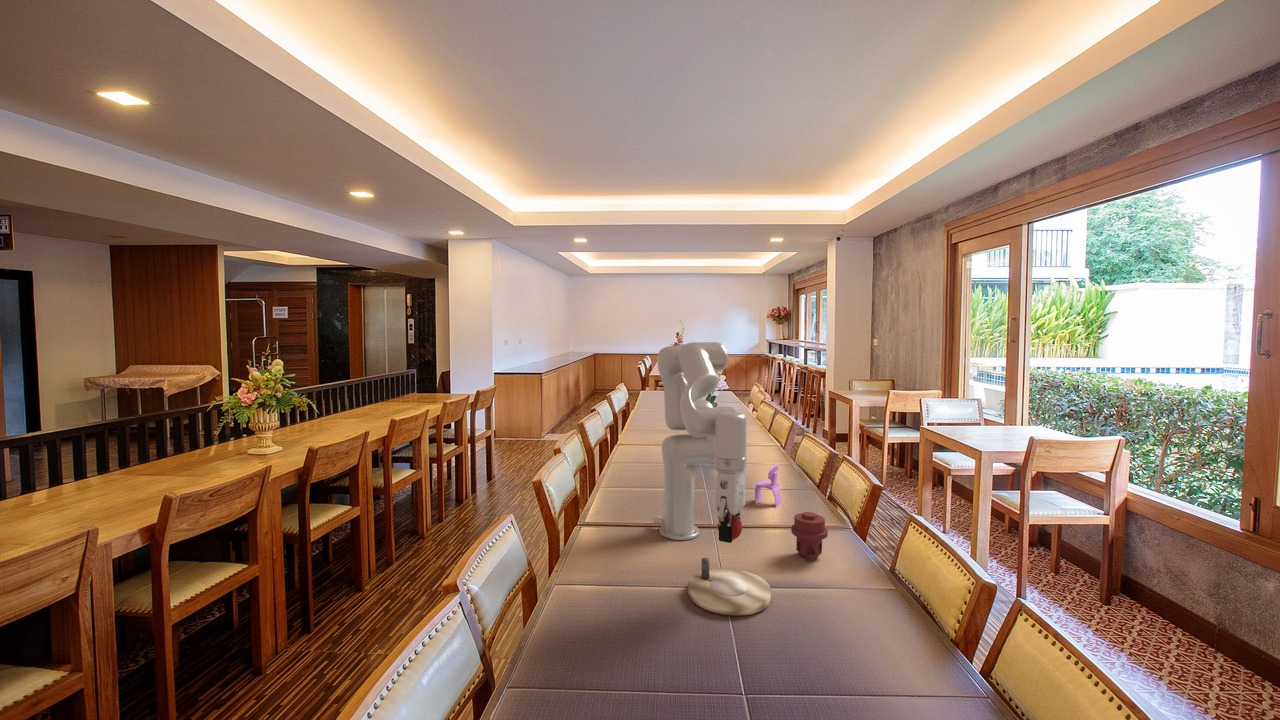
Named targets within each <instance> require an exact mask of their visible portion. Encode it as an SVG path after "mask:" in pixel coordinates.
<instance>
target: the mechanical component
mask: <svg viewBox="0 0 1280 720" xmlns="http://www.w3.org/2000/svg"><path fill="white" fill-rule="evenodd" d="M793 519H794V520H793V521H794V522H793V523H794V524H792V525H791V526H790V528H791V530H790V532H791V534H792V535H793V536H794V537H796V544H795V545H796V546H795V547H796V548H795V549H796V551H797V554H798V555H801V556H802V557H804V558H805V559H806V560H807V561H809V562H812V561H814V558H816V557H818V556H820V555H822V553H823V540H825V539H826V538H828V536H829V529H828V528H827V527H826V519H825V517H824V516H822V515H819V514H817V513H815V512H812V511H805V512H801V513H796V514H795V515H794V517H793Z"/></svg>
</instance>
